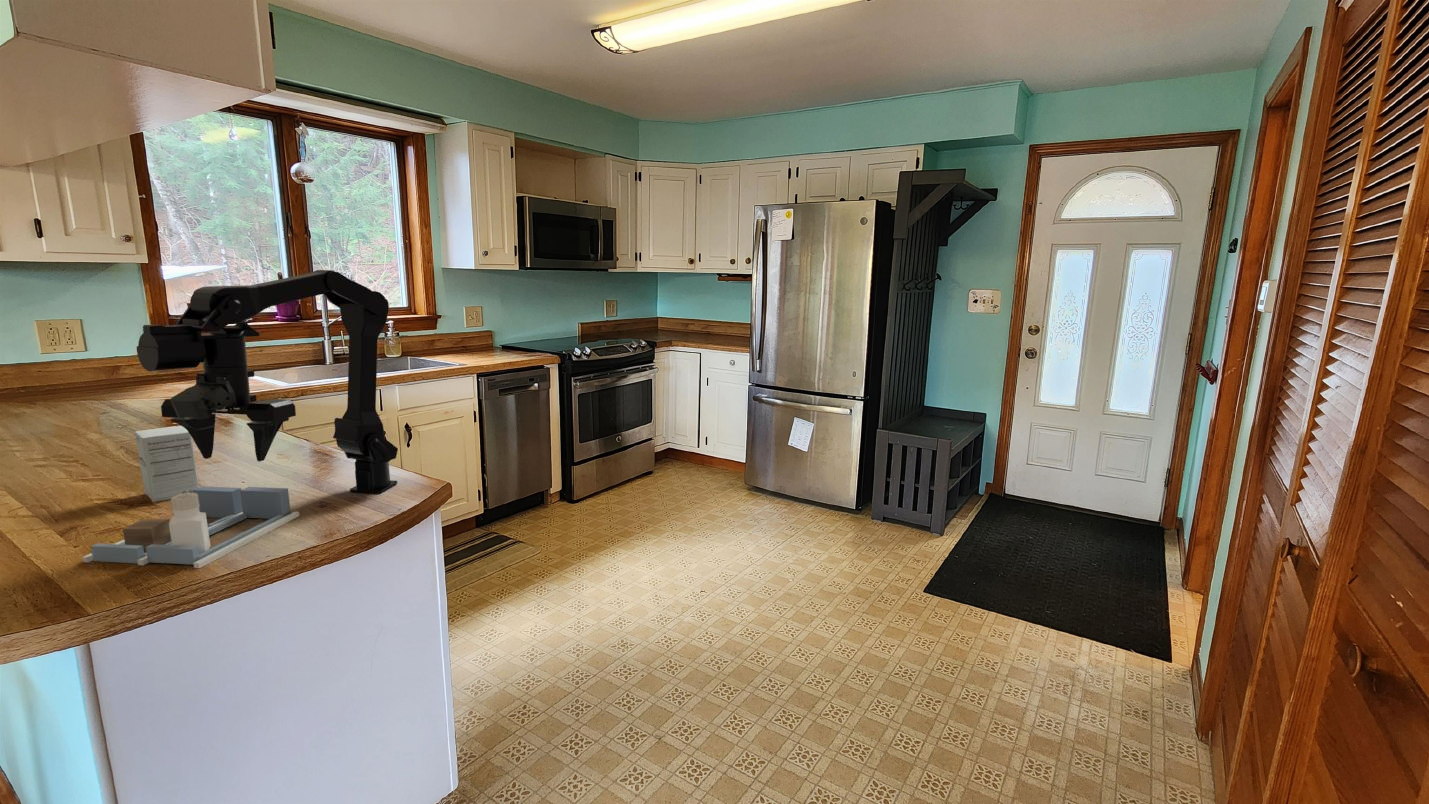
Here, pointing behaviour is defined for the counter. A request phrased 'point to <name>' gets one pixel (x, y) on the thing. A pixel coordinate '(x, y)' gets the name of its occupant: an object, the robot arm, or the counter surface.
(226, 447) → the counter surface
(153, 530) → the walnut cube
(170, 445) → the supplement box
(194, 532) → the pepper shaker
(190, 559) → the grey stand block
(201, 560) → the lane rails
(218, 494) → the broken strip
